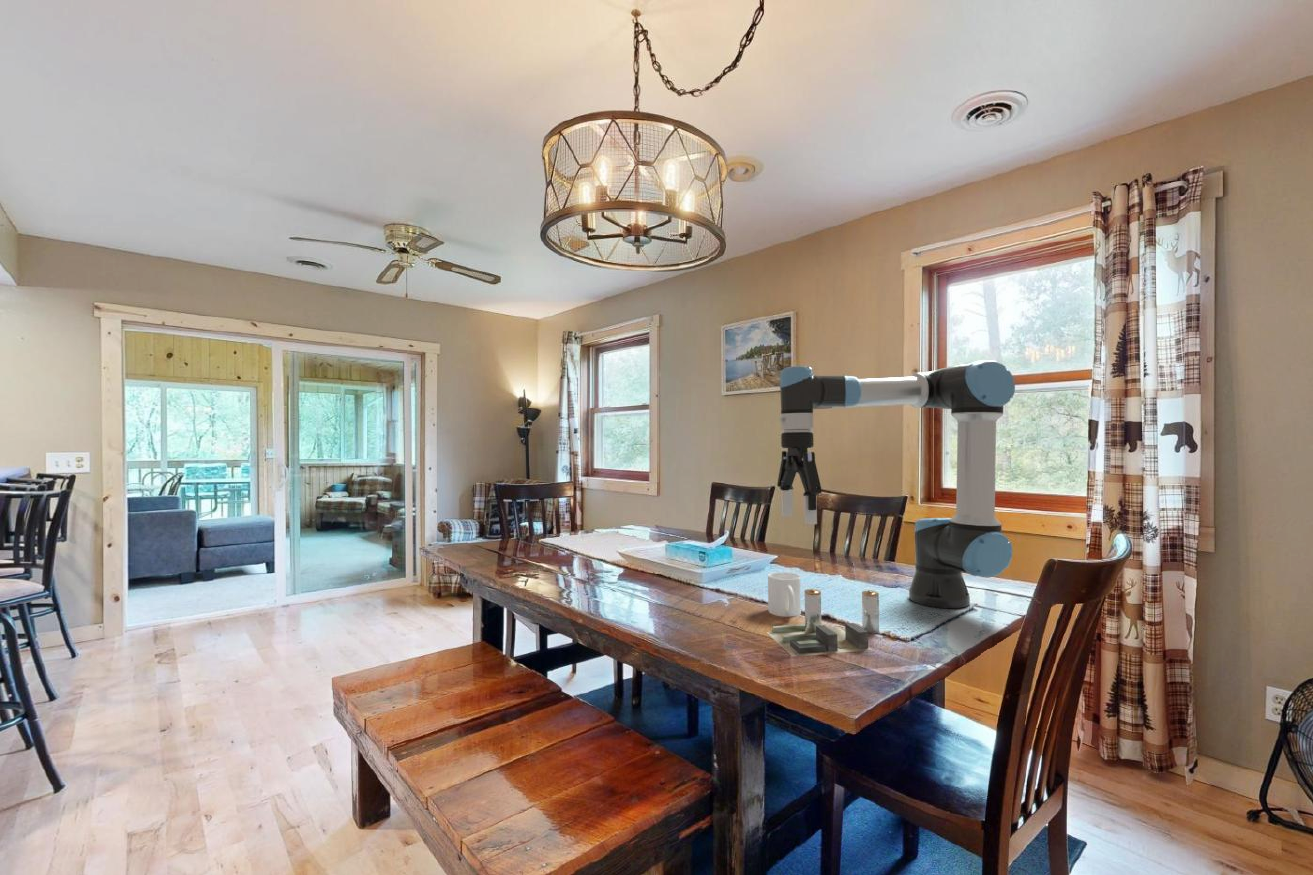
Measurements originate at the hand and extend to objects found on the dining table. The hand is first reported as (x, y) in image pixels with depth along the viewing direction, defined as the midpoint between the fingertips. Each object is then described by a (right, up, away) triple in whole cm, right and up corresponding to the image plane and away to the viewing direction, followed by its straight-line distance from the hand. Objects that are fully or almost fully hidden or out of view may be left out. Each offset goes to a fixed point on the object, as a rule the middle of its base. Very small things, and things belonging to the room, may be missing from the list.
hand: (798, 520), depth 136 cm
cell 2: (+16, -26, -4) cm, 31 cm away
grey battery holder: (+2, -26, -10) cm, 28 cm away
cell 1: (+2, -25, -6) cm, 26 cm away
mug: (-1, -27, +9) cm, 28 cm away
